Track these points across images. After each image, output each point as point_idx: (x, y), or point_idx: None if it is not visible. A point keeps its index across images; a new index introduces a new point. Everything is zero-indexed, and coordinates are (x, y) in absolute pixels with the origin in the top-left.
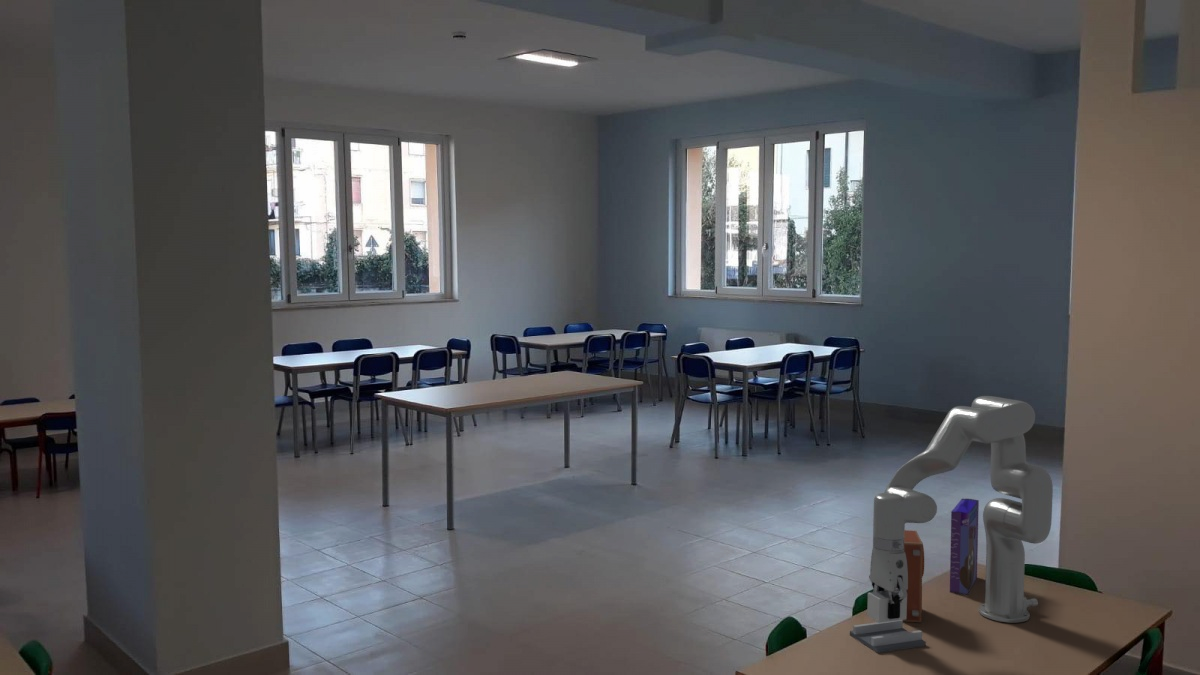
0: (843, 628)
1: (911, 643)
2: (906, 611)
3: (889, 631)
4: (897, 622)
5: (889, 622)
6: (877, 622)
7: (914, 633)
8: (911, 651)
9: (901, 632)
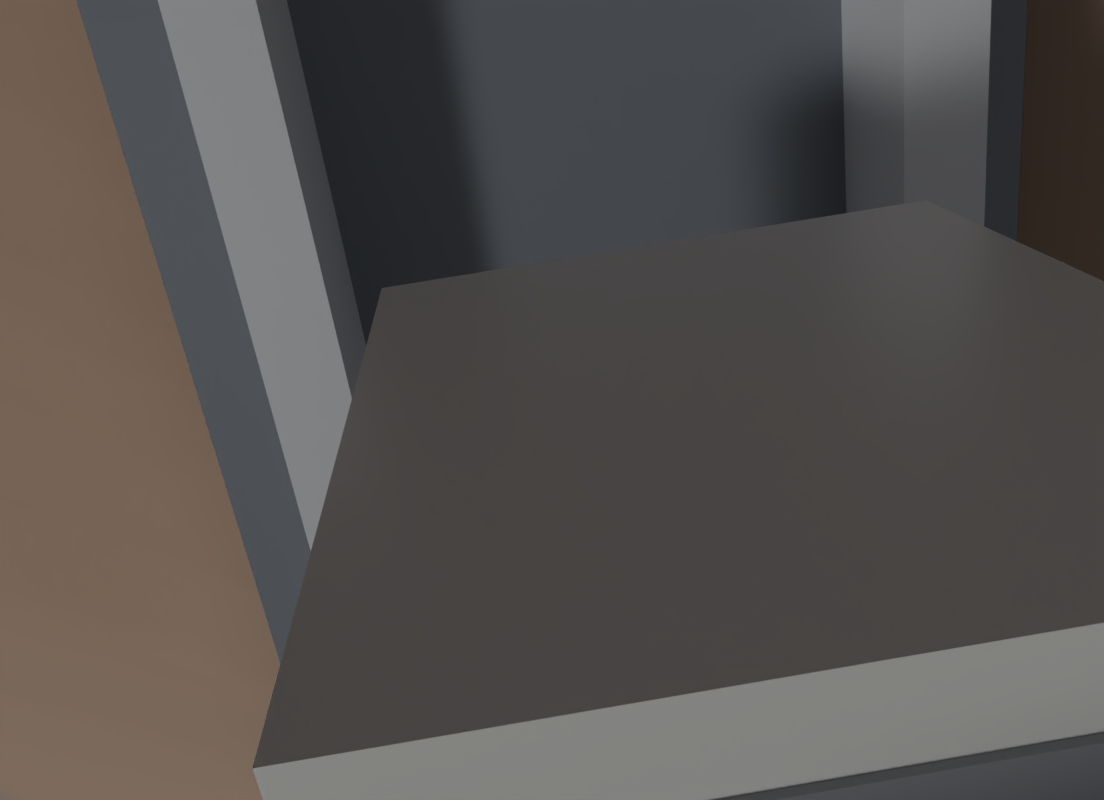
0: (89, 785)
1: (1008, 147)
2: (1042, 256)
3: (421, 281)
4: (279, 78)
5: (330, 292)
6: (318, 522)
7: (987, 35)
8: (1094, 208)
9: (499, 78)
